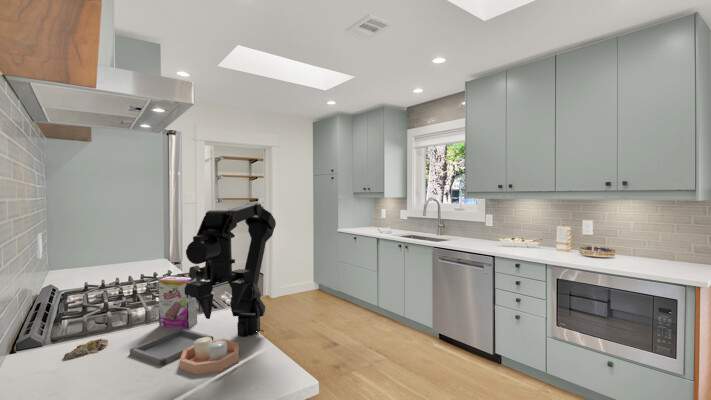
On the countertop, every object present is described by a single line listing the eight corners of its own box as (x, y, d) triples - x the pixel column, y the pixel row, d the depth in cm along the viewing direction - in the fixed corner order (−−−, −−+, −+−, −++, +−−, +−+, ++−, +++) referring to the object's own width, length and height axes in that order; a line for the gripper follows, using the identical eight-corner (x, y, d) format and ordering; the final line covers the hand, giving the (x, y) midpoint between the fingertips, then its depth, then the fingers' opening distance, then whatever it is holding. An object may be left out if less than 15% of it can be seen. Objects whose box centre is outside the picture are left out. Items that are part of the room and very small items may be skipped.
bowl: (214, 346, 103) (214, 336, 103) (250, 356, 97) (249, 345, 97) (169, 368, 91) (169, 356, 91) (207, 381, 85) (206, 368, 84)
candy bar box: (158, 328, 117) (156, 279, 117) (168, 323, 122) (167, 275, 122) (188, 331, 115) (187, 280, 115) (198, 325, 120) (196, 277, 120)
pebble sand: (204, 351, 98) (204, 336, 98) (216, 354, 96) (215, 338, 96) (191, 358, 94) (190, 342, 94) (202, 362, 92) (202, 345, 92)
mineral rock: (96, 336, 107) (112, 333, 103) (99, 350, 106) (115, 348, 103) (53, 353, 97) (69, 350, 94) (57, 368, 97) (73, 366, 93)
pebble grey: (219, 355, 96) (218, 339, 95) (231, 359, 94) (230, 342, 93) (205, 363, 92) (205, 346, 92) (217, 366, 90) (217, 349, 90)
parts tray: (182, 335, 112) (182, 328, 111) (213, 343, 105) (213, 336, 105) (130, 357, 97) (129, 349, 97) (162, 368, 91) (161, 360, 91)
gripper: (226, 248, 109) (227, 299, 109) (169, 260, 92) (171, 319, 93) (253, 251, 103) (254, 304, 104) (198, 264, 87) (200, 327, 87)
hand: (222, 313), depth 97 cm, fingers open, 9 cm apart
